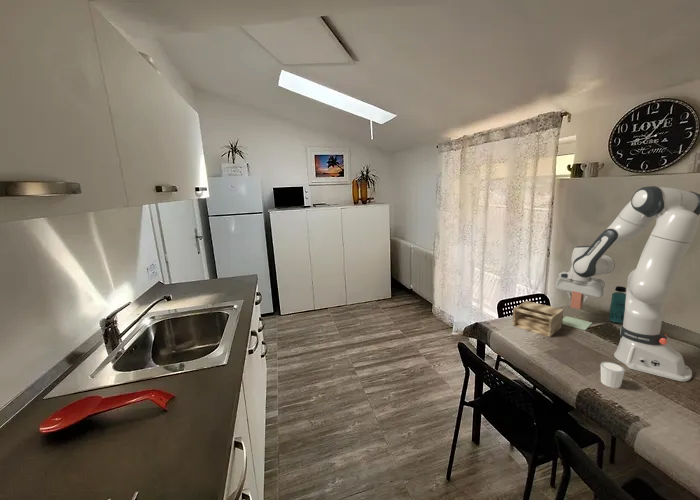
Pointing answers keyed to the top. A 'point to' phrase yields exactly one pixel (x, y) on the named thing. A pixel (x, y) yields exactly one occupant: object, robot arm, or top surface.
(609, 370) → the white cup
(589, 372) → the top surface
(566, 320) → the zone pad
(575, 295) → the block
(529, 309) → the wooden crate
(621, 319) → the beverage bottle
